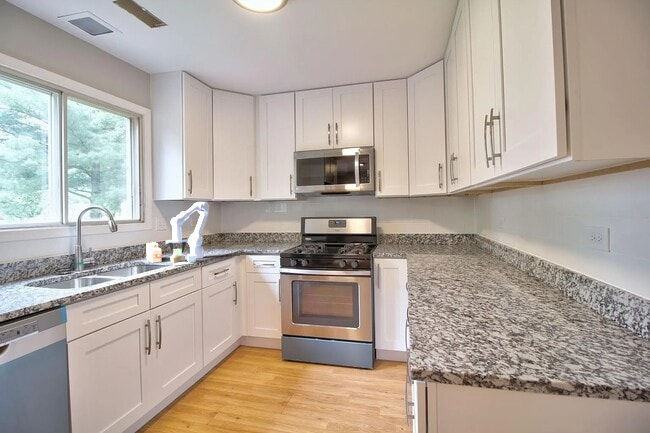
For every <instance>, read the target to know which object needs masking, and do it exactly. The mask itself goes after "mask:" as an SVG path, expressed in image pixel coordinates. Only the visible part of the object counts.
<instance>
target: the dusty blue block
mask: <svg viewBox="0 0 650 433" xmlns="http://www.w3.org/2000/svg"><path fill="white" fill-rule="evenodd" d="M186 258H187V259H186V262H187V261H188V262H192V263H197V258H196V255H195V254H193V255H190V254H187V256H186Z"/></svg>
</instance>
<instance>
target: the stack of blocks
mask: <svg viewBox="0 0 650 433" xmlns="http://www.w3.org/2000/svg"><path fill="white" fill-rule="evenodd" d="M159 246H160V244H159V243H157V242H150V243H146V246H145V247H146V248H145V249H146V259H147V261H148V262H150V263H152V264H153V263H162V249H161V248H160V247H159Z"/></svg>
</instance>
